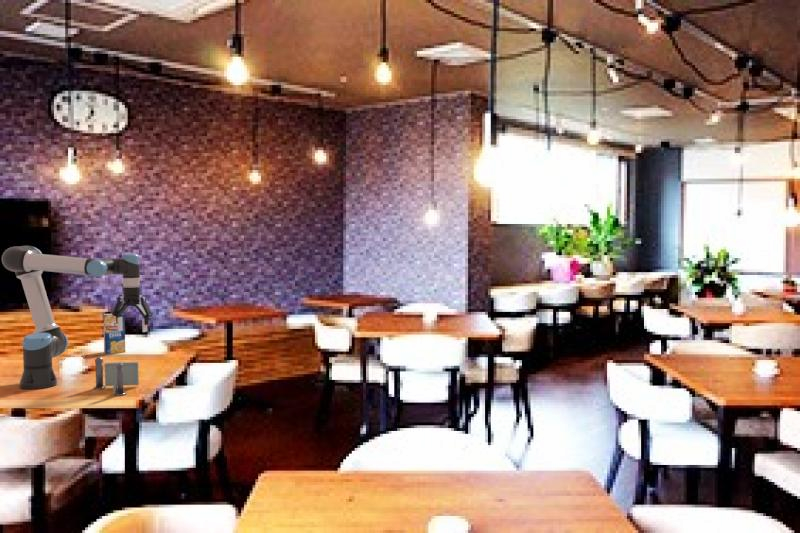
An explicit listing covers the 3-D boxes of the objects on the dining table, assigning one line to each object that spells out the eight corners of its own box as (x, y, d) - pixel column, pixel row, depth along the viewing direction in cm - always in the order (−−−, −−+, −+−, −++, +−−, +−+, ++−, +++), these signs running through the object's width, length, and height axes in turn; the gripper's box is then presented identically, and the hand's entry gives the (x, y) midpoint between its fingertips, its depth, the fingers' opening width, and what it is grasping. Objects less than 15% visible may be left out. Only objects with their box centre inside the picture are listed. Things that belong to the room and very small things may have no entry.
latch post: (111, 394, 305) (110, 363, 304) (122, 392, 309) (121, 361, 308) (118, 396, 301) (117, 364, 301) (129, 394, 305) (128, 362, 304)
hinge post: (91, 388, 316) (90, 357, 316) (102, 386, 320) (101, 355, 320) (96, 390, 313) (96, 358, 313) (107, 388, 317) (107, 357, 316)
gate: (105, 386, 316) (104, 363, 316) (106, 385, 318) (105, 362, 317) (137, 385, 319) (137, 362, 318) (138, 384, 320) (138, 361, 320)
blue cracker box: (103, 352, 411) (103, 314, 410) (124, 350, 416) (123, 313, 415) (105, 353, 405) (104, 315, 404) (125, 352, 410) (124, 314, 409)
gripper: (159, 286, 335) (160, 331, 336) (114, 285, 342) (115, 329, 343) (149, 287, 328) (150, 333, 329) (103, 286, 334) (104, 331, 336)
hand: (132, 331), depth 336 cm, fingers open, 13 cm apart
